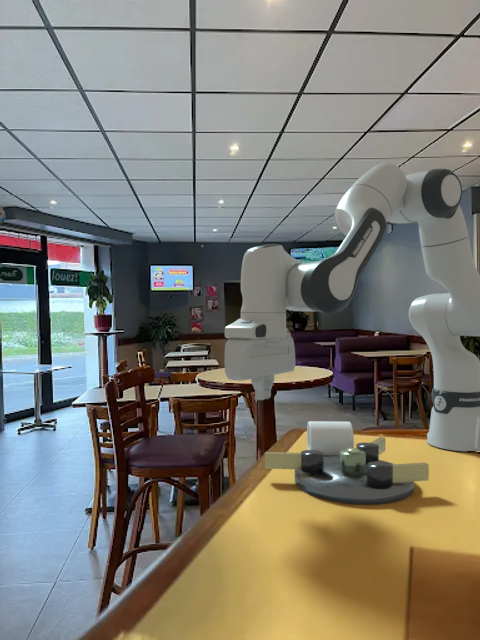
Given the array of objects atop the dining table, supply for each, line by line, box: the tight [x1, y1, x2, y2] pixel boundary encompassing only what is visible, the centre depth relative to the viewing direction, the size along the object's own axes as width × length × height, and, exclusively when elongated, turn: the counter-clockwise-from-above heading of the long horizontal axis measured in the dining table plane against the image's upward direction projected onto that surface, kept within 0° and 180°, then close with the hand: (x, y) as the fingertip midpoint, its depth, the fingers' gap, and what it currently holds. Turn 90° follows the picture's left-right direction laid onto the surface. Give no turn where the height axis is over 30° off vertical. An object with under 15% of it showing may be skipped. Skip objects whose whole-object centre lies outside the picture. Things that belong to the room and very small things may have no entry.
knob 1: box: [264, 449, 325, 474], centre depth 100 cm, size 12×5×3 cm, turn 85°
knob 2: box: [355, 436, 386, 464], centre depth 108 cm, size 12×5×3 cm, turn 145°
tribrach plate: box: [294, 447, 415, 506], centre depth 99 cm, size 23×23×7 cm
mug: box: [306, 420, 355, 457], centre depth 120 cm, size 12×10×8 cm
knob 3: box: [367, 461, 430, 488], centre depth 92 cm, size 12×5×3 cm, turn 100°
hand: (262, 399), depth 96 cm, fingers closed
